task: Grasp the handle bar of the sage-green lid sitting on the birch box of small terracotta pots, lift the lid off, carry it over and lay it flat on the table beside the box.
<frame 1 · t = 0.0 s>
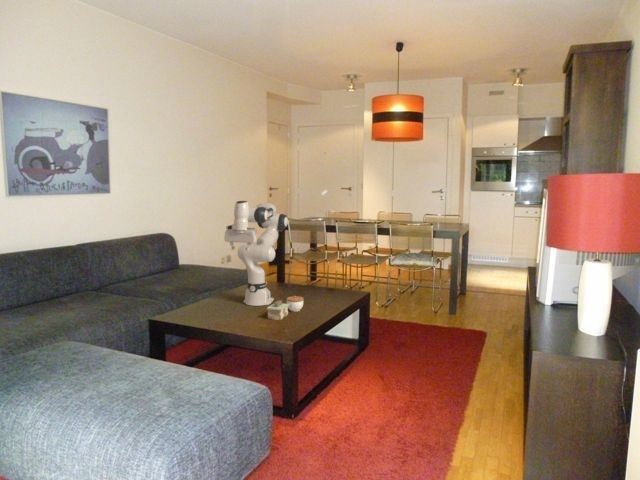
hand: (240, 249, 301), 39 cm above the table, tool pointing down, fingers open, 8 cm apart
lid: (278, 307, 296), point 6 cm above the table, touching box
lidded jar: (295, 310, 312), on the table
box: (278, 316, 296), on the table
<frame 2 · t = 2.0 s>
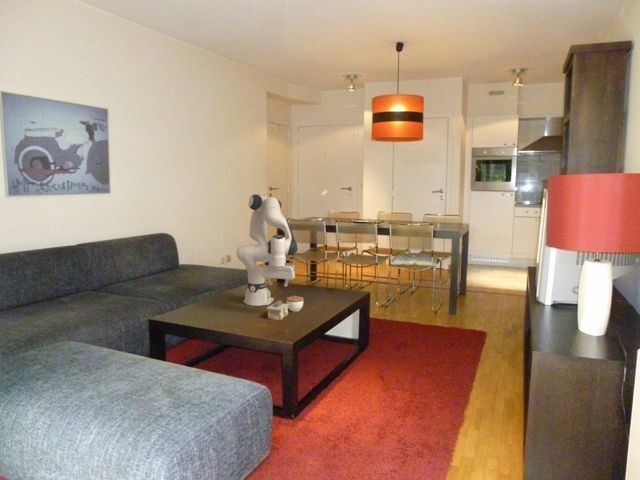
hand: (278, 285, 294), 19 cm above the table, tool pointing down, fingers open, 8 cm apart
nothing on the table moved.
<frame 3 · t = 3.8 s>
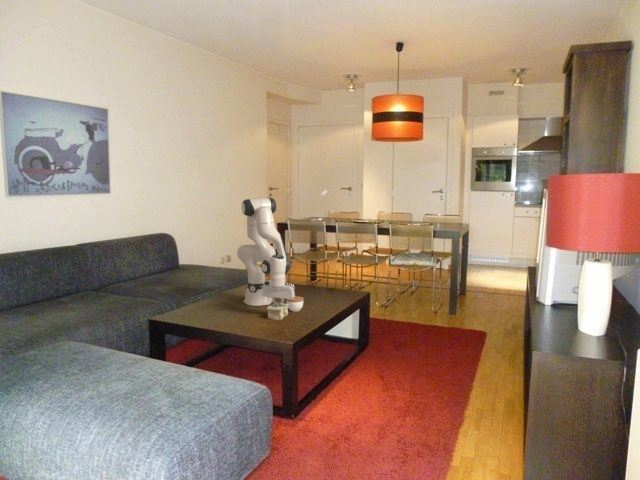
hand: (278, 305, 295), 7 cm above the table, tool pointing down, fingers closed on lid, 2 cm apart
lid: (278, 307, 296), point 6 cm above the table, touching box, gripper
everything else where it was.
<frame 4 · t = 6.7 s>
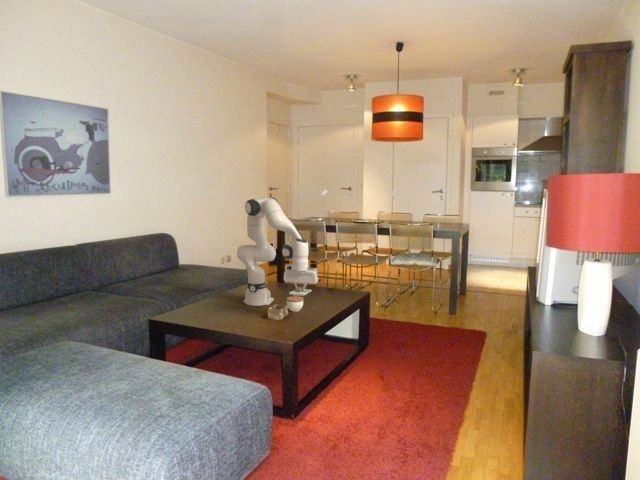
hand: (300, 290, 288), 18 cm above the table, tool pointing down, fingers closed on lid, 2 cm apart
lid: (300, 292, 288), point 17 cm above the table, touching gripper
everything else where it was.
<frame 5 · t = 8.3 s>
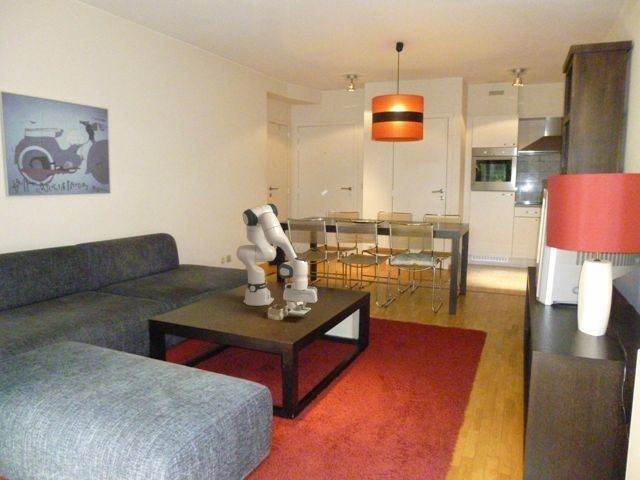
hand: (300, 308, 289), 7 cm above the table, tool pointing down, fingers closed on lid, 2 cm apart
lid: (299, 311, 289), point 6 cm above the table, touching gripper
everything else where it was.
when the fingers open (4 cm above the table, at t = 9.7 s): lid drops 2 cm, on the table.
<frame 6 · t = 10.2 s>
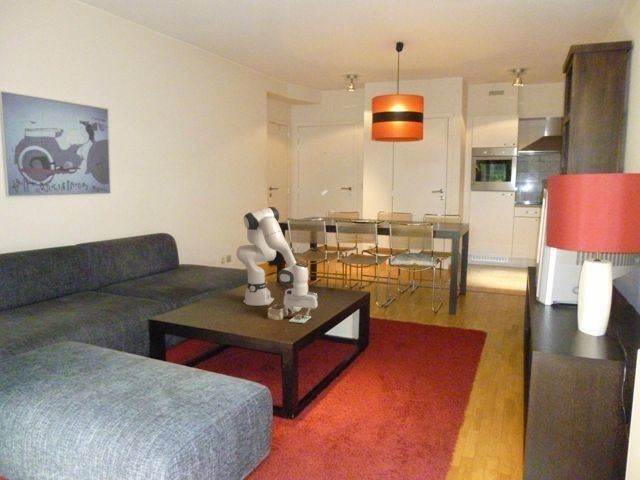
hand: (300, 314, 289), 4 cm above the table, tool pointing down, fingers open, 7 cm apart
lid: (300, 319, 290), on the table
everything else where it was.
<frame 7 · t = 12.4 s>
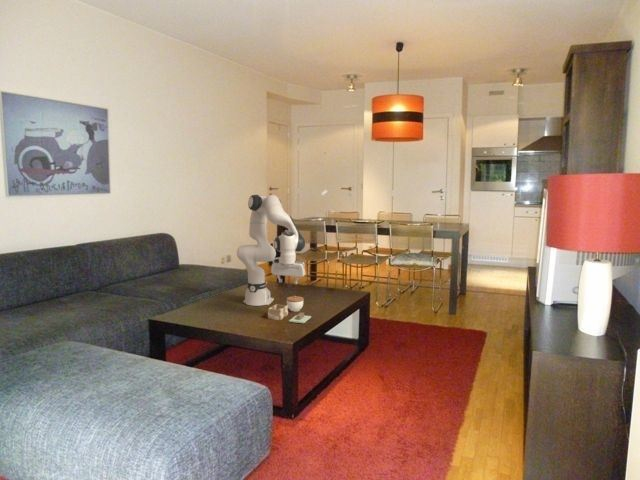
hand: (288, 283, 289), 22 cm above the table, tool pointing down, fingers open, 8 cm apart
nothing on the table moved.
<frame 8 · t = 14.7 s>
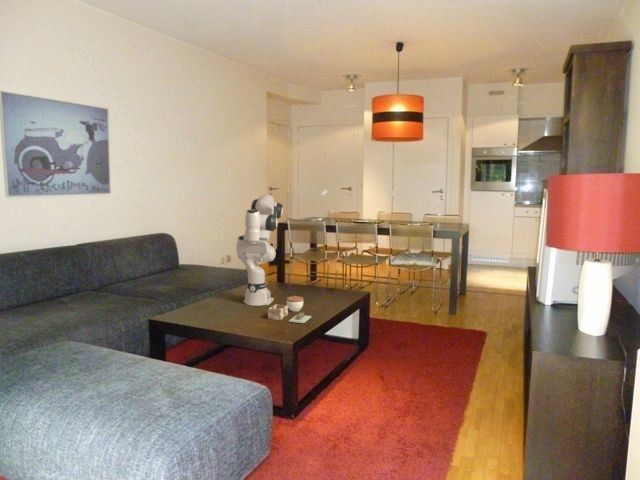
hand: (253, 260, 292), 34 cm above the table, tool pointing down, fingers open, 8 cm apart
nothing on the table moved.
at the end: lid inside the target area (0.1 cm from its centre), point 0.5 cm above the table; lid tilted 0°; the gripper is holding nothing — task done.
